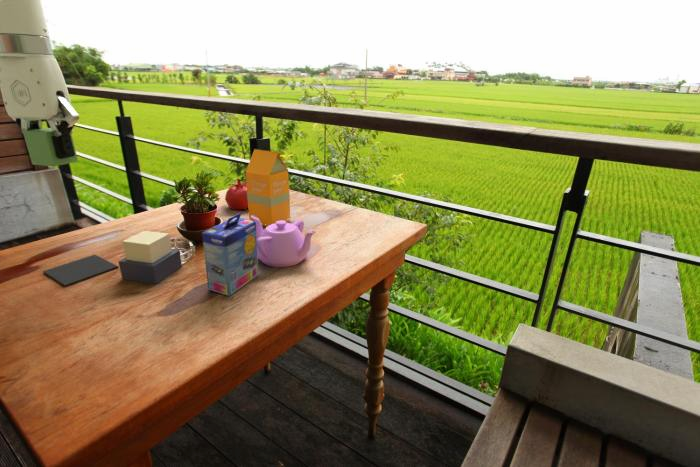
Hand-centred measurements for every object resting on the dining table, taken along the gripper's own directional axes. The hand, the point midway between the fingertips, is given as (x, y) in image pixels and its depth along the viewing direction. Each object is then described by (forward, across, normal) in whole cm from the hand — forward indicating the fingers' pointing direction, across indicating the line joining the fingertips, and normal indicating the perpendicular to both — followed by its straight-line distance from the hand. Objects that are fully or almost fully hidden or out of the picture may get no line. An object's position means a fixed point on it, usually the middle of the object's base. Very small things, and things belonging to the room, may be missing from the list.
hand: (53, 155), depth 72 cm
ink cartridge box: (+24, +33, +4) cm, 41 cm away
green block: (+1, 0, 0) cm, 1 cm away
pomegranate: (+24, +10, +48) cm, 55 cm away
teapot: (+24, +38, +17) cm, 48 cm away
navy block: (+24, +14, +3) cm, 28 cm away
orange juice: (+24, +24, +39) cm, 52 cm away
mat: (+24, -1, 0) cm, 24 cm away
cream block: (+20, +14, +3) cm, 25 cm away
